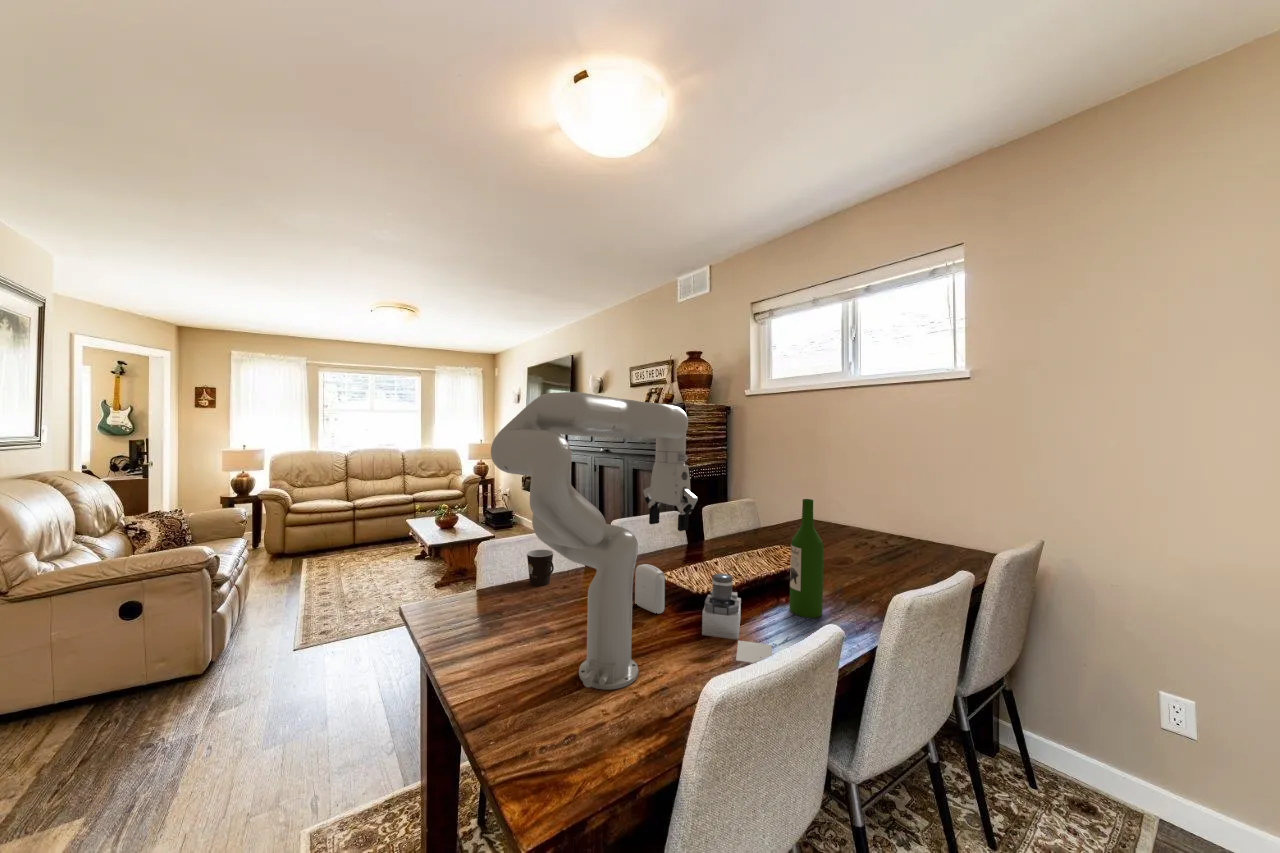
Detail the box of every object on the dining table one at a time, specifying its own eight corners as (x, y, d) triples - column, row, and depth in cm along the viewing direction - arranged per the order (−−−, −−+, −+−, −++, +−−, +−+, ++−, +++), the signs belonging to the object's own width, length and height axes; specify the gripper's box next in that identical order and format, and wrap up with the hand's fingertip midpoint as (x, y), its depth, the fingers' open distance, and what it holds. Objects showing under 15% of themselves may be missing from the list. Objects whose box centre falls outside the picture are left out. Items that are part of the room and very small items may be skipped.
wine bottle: (782, 607, 136) (785, 497, 136) (807, 604, 139) (809, 496, 139) (803, 619, 128) (806, 502, 128) (829, 615, 131) (831, 501, 131)
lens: (736, 607, 120) (736, 576, 120) (724, 613, 117) (725, 580, 117) (719, 601, 124) (720, 571, 124) (707, 606, 120) (708, 575, 120)
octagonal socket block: (738, 641, 114) (738, 607, 114) (701, 636, 117) (702, 603, 117) (740, 619, 127) (741, 589, 127) (707, 615, 129) (708, 586, 129)
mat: (772, 667, 102) (772, 665, 102) (735, 661, 104) (736, 660, 104) (771, 646, 112) (771, 644, 112) (738, 642, 114) (738, 640, 114)
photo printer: (632, 604, 137) (633, 562, 137) (643, 600, 139) (644, 560, 139) (655, 615, 129) (656, 571, 129) (666, 612, 132) (667, 568, 131)
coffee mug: (525, 579, 156) (526, 550, 156) (551, 577, 159) (551, 548, 159) (527, 592, 145) (528, 560, 145) (555, 589, 148) (556, 558, 148)
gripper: (707, 460, 112) (704, 531, 112) (655, 456, 125) (653, 519, 124) (687, 461, 107) (685, 535, 107) (635, 456, 119) (633, 523, 119)
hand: (668, 526), depth 115 cm, fingers open, 9 cm apart
